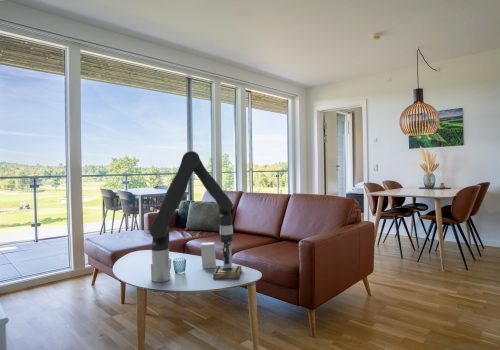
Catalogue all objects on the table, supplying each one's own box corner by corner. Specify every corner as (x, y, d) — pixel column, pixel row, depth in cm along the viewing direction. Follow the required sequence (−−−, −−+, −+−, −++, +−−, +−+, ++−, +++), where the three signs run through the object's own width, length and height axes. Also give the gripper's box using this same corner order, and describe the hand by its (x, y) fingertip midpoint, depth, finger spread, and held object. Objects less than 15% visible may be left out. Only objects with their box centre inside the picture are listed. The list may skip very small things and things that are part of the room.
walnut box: (213, 279, 181) (213, 273, 181) (218, 270, 195) (217, 265, 195) (238, 279, 180) (238, 273, 179) (241, 270, 194) (241, 265, 193)
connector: (223, 267, 185) (223, 250, 185) (225, 265, 189) (224, 248, 189) (230, 267, 185) (230, 249, 184) (231, 265, 189) (231, 248, 188)
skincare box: (216, 265, 206) (215, 241, 205) (215, 268, 200) (214, 244, 199) (202, 265, 205) (201, 242, 205) (201, 268, 199) (200, 244, 199)
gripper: (222, 230, 194) (223, 259, 194) (217, 235, 180) (218, 266, 180) (234, 230, 193) (235, 258, 194) (231, 235, 179) (232, 266, 179)
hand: (227, 262), depth 187 cm, fingers closed on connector, 4 cm apart
